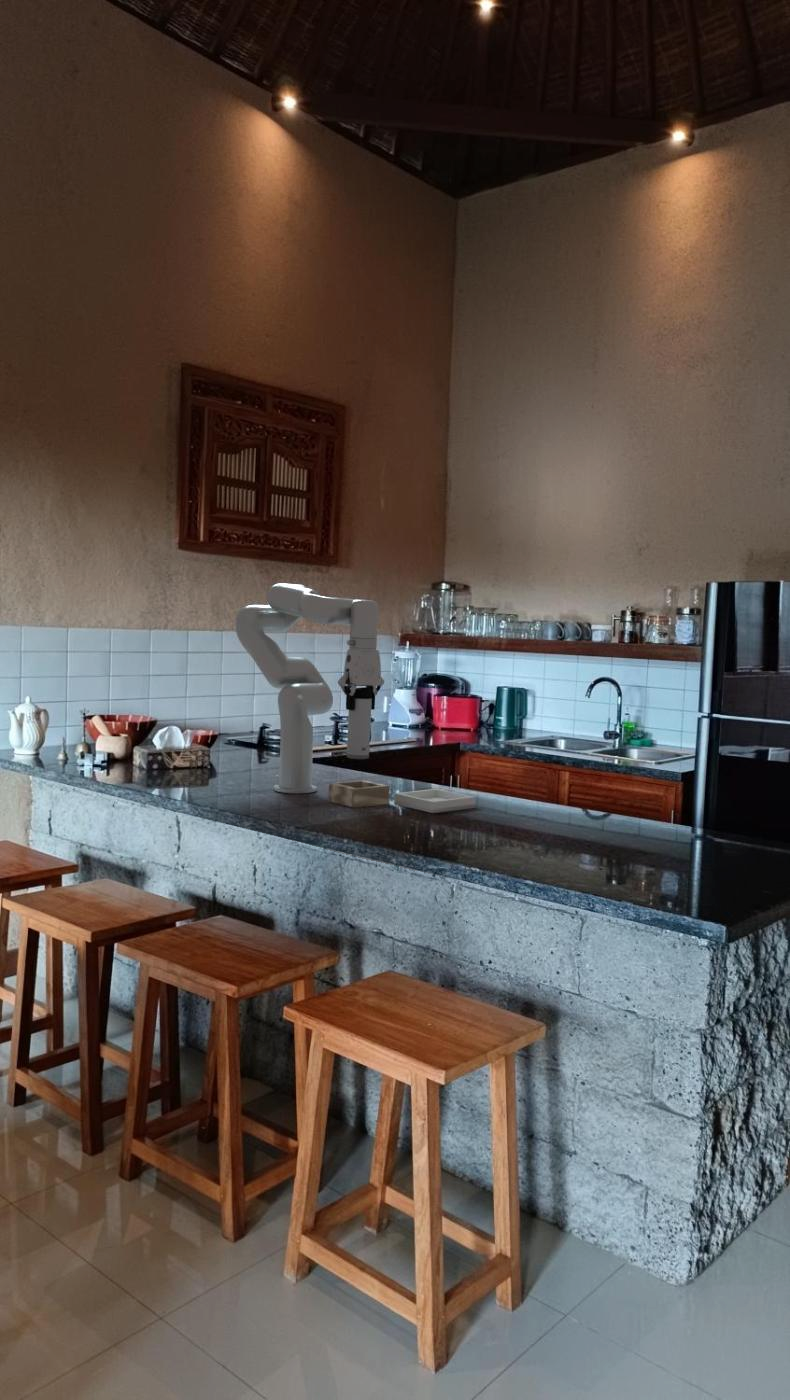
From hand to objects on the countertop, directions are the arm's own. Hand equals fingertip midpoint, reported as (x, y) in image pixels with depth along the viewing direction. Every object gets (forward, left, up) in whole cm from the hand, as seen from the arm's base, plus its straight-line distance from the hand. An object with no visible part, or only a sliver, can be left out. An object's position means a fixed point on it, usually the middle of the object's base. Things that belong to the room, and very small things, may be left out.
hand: (360, 708), depth 282 cm
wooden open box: (0, 0, -26) cm, 26 cm away
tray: (+15, +15, -26) cm, 34 cm away
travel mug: (0, 0, -14) cm, 14 cm away
